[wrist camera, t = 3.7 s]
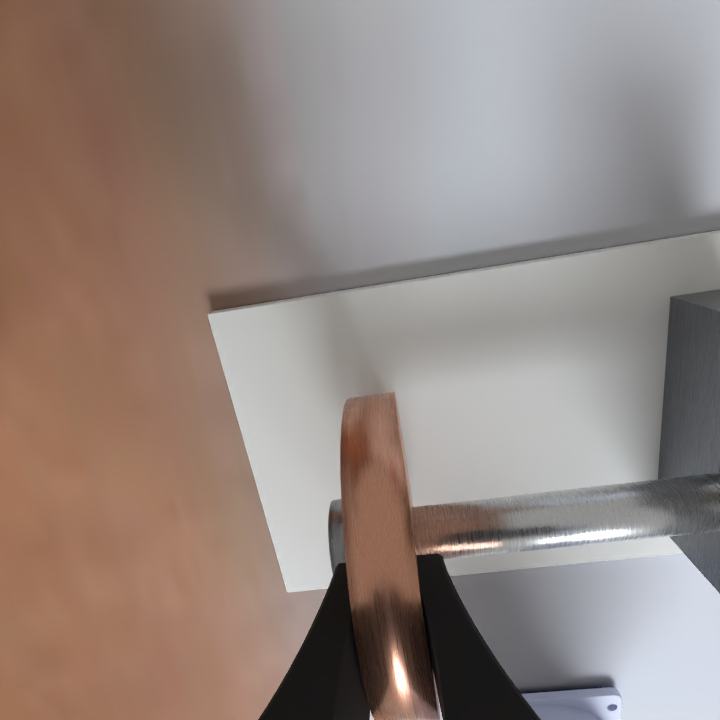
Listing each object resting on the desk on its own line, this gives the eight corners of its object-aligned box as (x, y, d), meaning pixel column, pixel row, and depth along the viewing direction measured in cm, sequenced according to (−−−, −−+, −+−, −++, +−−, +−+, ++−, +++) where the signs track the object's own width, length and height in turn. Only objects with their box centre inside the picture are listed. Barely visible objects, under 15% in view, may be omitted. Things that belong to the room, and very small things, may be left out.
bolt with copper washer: (726, 510, 18) (1035, 776, 10) (363, 549, 19) (353, 812, 11) (754, 301, 15) (1231, 418, 7) (325, 363, 17) (272, 526, 8)
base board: (854, 525, 19) (868, 534, 19) (289, 582, 22) (287, 592, 21) (937, 194, 15) (960, 194, 14) (212, 310, 17) (207, 314, 16)
